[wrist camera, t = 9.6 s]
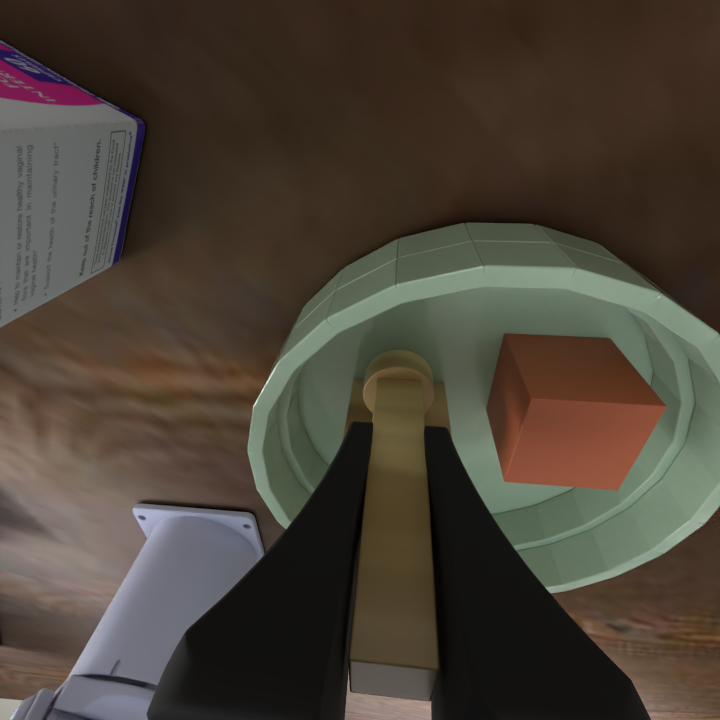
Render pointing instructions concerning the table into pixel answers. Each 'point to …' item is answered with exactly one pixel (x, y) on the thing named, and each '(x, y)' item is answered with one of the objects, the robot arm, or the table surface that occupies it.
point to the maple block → (361, 413)
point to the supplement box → (59, 183)
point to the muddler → (396, 539)
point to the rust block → (569, 411)
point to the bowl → (475, 376)
